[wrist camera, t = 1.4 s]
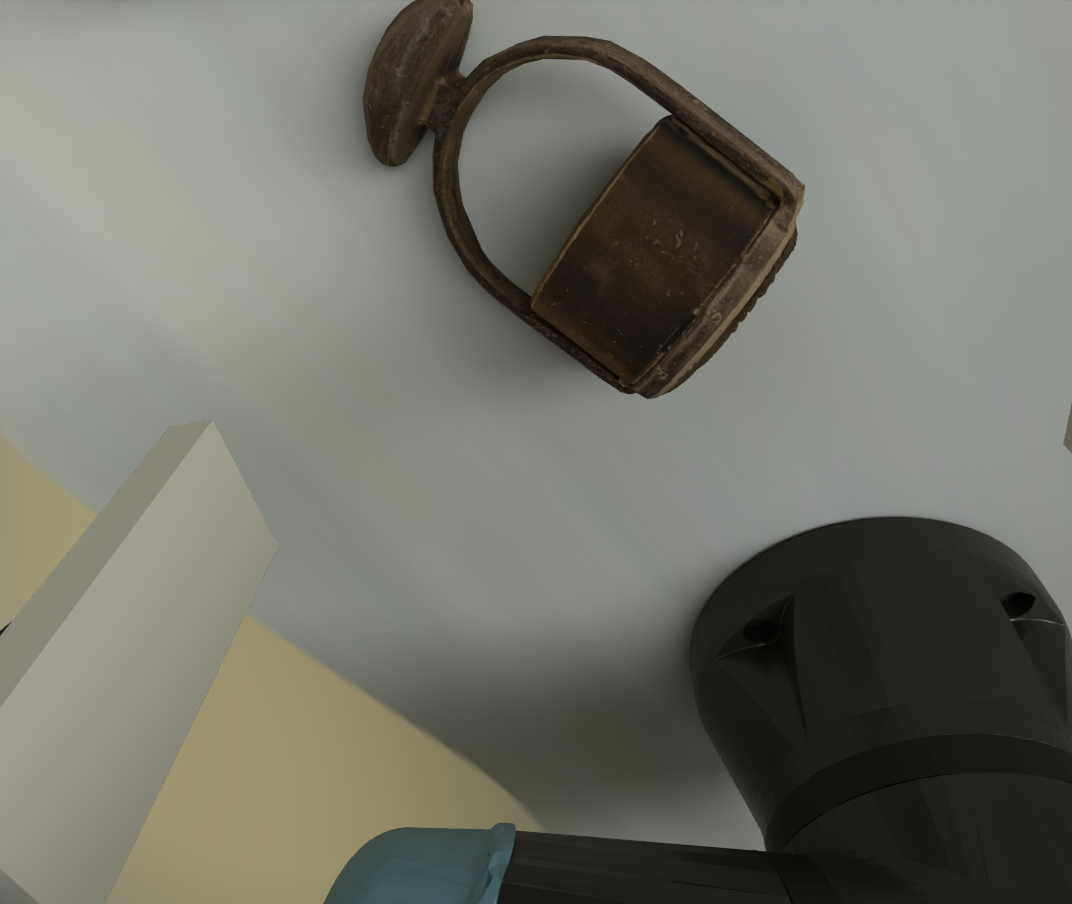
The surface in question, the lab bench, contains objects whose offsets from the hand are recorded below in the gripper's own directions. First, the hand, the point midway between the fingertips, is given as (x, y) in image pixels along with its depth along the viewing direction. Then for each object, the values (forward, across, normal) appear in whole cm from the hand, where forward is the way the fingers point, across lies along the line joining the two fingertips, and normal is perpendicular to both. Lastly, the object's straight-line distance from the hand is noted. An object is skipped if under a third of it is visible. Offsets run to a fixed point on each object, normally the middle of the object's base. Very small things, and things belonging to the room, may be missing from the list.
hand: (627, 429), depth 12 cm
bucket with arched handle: (+15, 0, 0) cm, 15 cm away
